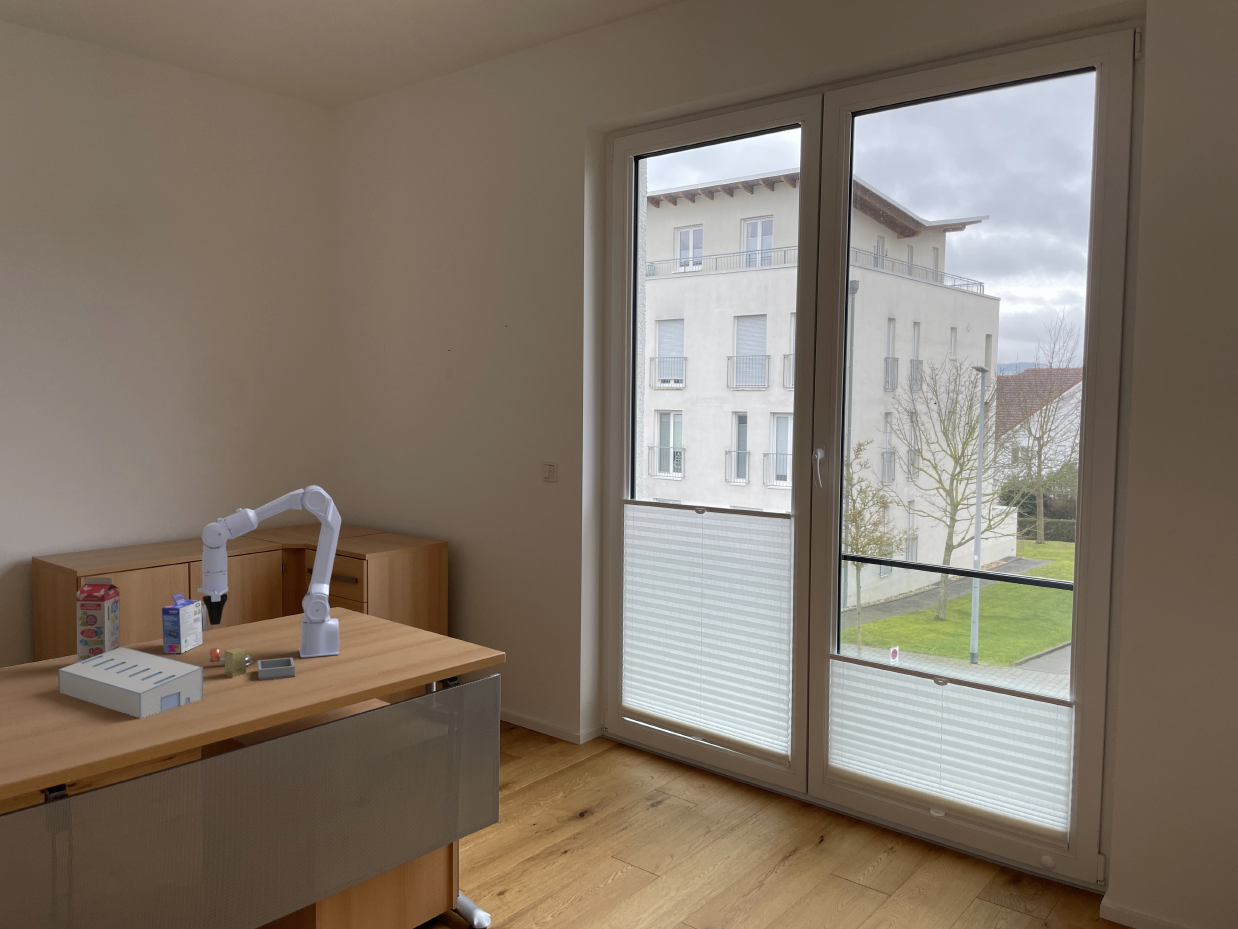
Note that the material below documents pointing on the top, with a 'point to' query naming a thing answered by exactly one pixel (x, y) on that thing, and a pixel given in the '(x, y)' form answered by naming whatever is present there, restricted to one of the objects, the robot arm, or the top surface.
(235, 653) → the block
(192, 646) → the ink cartridge box
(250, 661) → the bearing
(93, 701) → the warehouse
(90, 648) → the juice carton
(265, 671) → the tray
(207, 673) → the top surface
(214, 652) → the crank
